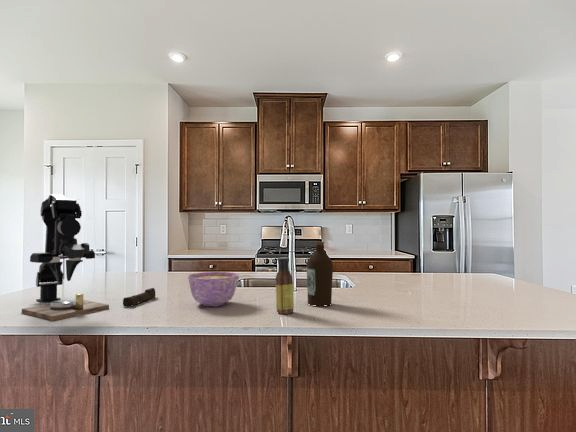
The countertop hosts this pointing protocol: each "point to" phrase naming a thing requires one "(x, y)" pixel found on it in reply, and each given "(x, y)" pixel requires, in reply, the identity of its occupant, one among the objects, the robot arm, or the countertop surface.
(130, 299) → the hand tool
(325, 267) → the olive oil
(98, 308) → the dial panel
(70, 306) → the dial
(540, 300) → the countertop surface
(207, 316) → the countertop surface
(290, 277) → the sauce bottle
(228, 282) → the bowl of food
